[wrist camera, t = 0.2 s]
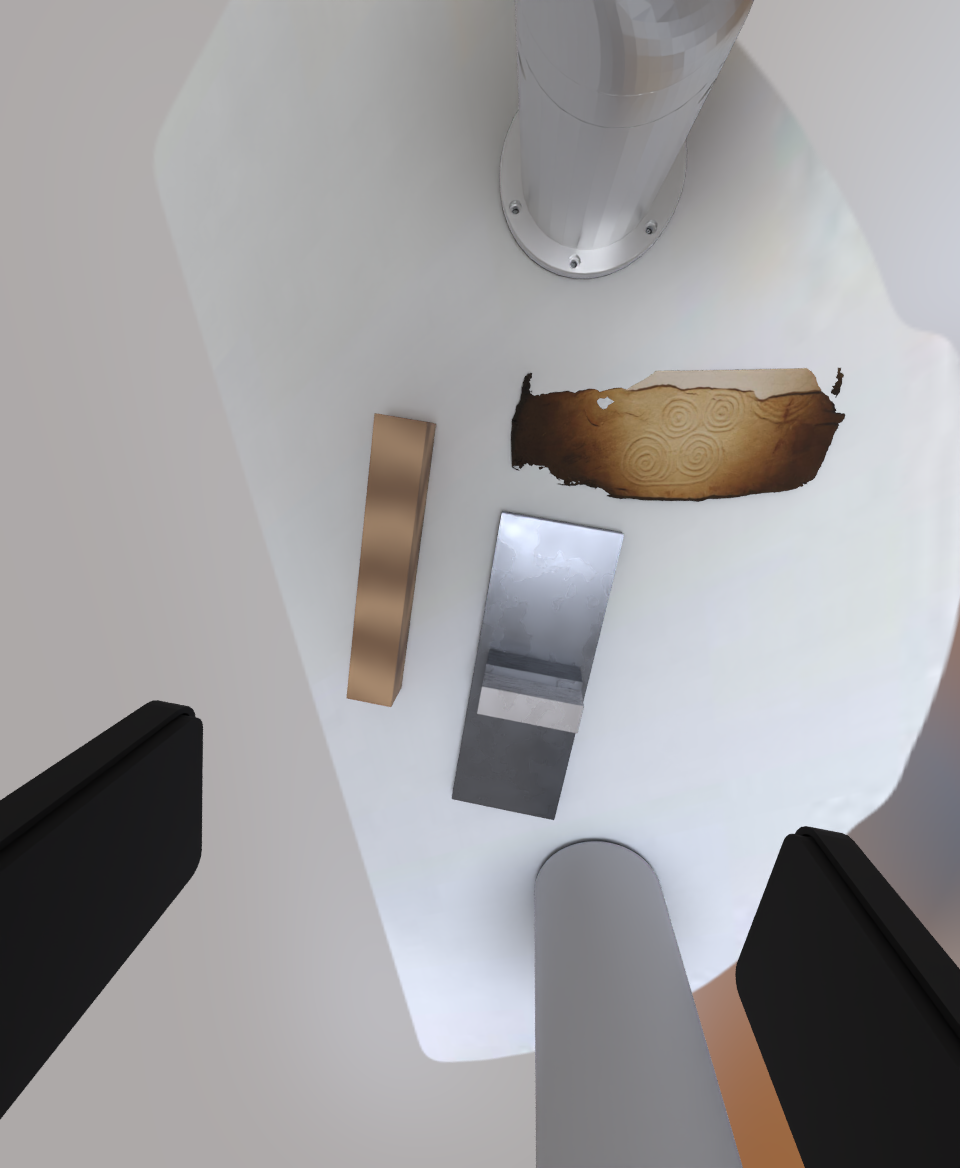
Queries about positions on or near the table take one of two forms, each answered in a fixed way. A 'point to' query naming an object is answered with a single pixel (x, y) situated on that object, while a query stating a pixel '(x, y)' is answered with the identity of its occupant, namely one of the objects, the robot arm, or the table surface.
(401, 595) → the walnut bar
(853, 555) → the table surface
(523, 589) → the stand
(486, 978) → the table surface
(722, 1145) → the cylinder vase
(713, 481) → the parchment
